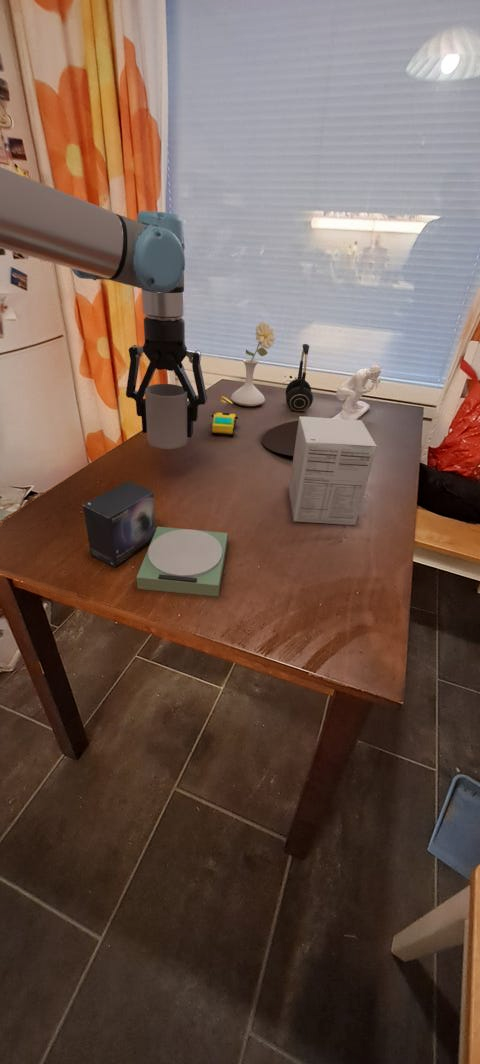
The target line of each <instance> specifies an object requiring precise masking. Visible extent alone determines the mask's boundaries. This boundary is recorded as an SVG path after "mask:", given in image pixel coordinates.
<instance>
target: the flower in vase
mask: <svg viewBox="0 0 480 1064" xmlns="http://www.w3.org/2000/svg"><path fill="white" fill-rule="evenodd" d="M254 334H255V340H256V341H257V346H256V350H255V352H254V353H253V352H251V351H249V350H247V349H245V354H246V355H248V356H251V358H244V359H242V362H243V364H244V365H245V382H244V384H243V385H242V386H241V387H239V388H238V389H236V390H235V391H234V392H233V393H232V394H231V398H230V399H231V400H232V401H231V402H232V403H235V404H237V405H240V406H244V407H257V406H260V405H263V403H264V402H265V401H266V399H265V396H264V394H263V393H262V392H261V391H260V390H259V389H258V388H257V387H256V386H255V385H254V372H255V368H256V366H257V365H258V363H259V360H258V359H255V356H256V353H258V355H259V356H260V357H264V356H266V355H268V351H267V349H268V350H270V348H271V347H273V345H274V344H275V342H274V341H275V340H276V338H275V334H274V332H273V328H271V327H270V324H269V323H267V322H263V321H261V322H260V323H258V325H256V327H255V333H254Z"/></svg>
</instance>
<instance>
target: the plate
mask: <svg viewBox="0 0 480 1064" xmlns="http://www.w3.org/2000/svg"><path fill="white" fill-rule="evenodd" d="M298 422H299V419H298V420H292V421H289V422H284V423H281V424H279V425H276V426H273V427H272V428H270V429H268V430H267V431H266V432H265V433H264V434H263V435H262V436H261V440H260V441H261V445H263V446H264V447H265V448H266V449H267V450H270V451H272V452H274V453H277V454H281V455H285V456H291V457H294V450H295V443H296V436H297V429H298Z"/></svg>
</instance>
